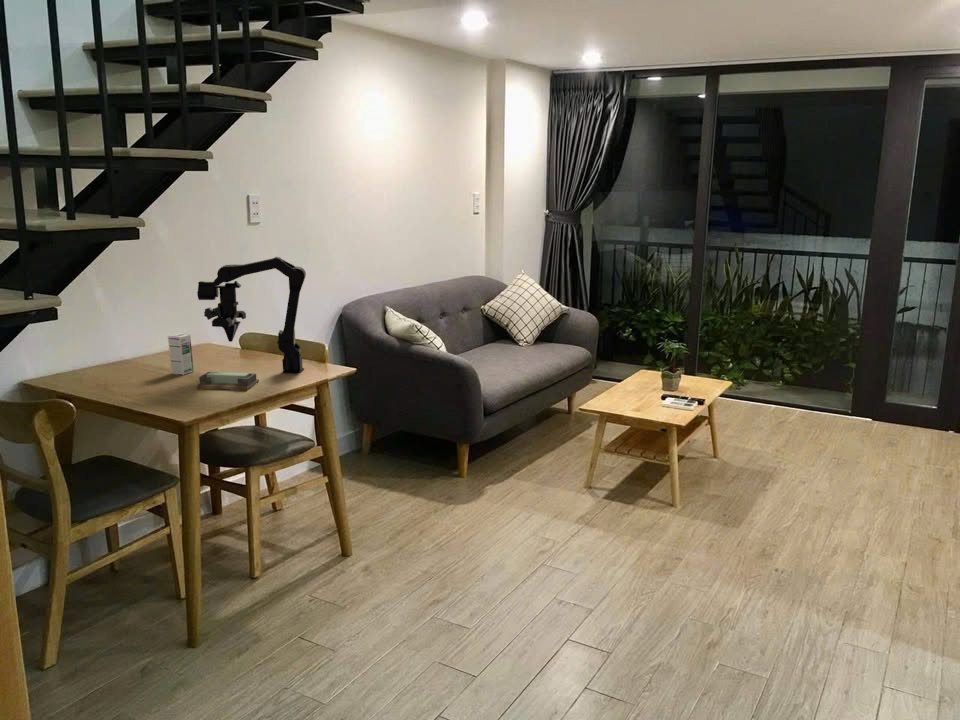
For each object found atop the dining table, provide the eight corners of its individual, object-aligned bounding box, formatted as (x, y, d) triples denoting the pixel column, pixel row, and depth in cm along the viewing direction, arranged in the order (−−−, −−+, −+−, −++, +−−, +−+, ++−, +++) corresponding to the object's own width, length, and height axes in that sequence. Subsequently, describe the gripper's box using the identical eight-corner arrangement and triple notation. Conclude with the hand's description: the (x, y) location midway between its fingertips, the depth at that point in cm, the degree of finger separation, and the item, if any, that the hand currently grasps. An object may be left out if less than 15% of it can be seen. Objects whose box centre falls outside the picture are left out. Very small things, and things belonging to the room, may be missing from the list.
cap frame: (258, 382, 288) (258, 372, 287) (247, 390, 277) (246, 380, 277) (210, 380, 290) (209, 370, 289) (197, 388, 279) (196, 378, 278)
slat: (249, 381, 285) (248, 373, 284) (245, 384, 281) (245, 375, 280) (210, 380, 286) (210, 372, 285) (206, 382, 282) (206, 374, 281)
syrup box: (183, 375, 297) (180, 336, 293) (170, 373, 299) (167, 335, 295) (193, 371, 302) (191, 333, 298) (181, 370, 304) (178, 332, 300)
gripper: (216, 295, 304) (219, 335, 308) (196, 303, 286) (199, 346, 290) (245, 296, 304) (247, 336, 307) (226, 304, 286) (229, 347, 289)
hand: (230, 341), depth 298 cm, fingers closed
